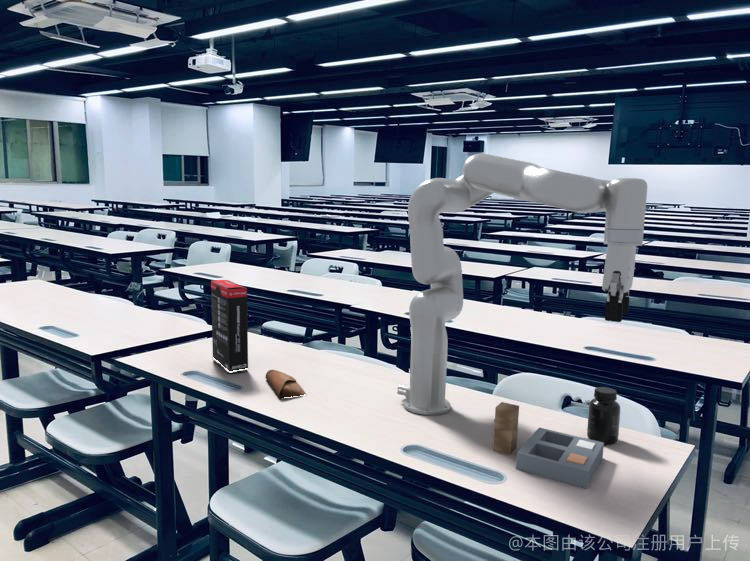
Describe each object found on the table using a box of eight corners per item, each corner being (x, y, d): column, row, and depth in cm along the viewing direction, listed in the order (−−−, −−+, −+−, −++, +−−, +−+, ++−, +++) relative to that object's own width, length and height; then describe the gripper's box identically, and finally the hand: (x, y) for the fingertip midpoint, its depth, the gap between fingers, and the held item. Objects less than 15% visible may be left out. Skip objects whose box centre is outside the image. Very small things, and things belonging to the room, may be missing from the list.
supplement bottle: (609, 433, 133) (614, 385, 132) (623, 445, 127) (628, 395, 125) (581, 433, 133) (585, 385, 132) (593, 445, 126) (598, 395, 125)
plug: (492, 450, 122) (495, 407, 121) (499, 444, 126) (501, 401, 124) (510, 455, 120) (513, 411, 119) (516, 448, 124) (519, 405, 122)
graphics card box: (249, 372, 173) (249, 286, 169) (228, 375, 169) (227, 287, 165) (230, 358, 187) (230, 278, 183) (210, 361, 183) (209, 280, 179)
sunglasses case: (309, 396, 153) (297, 377, 151) (288, 411, 151) (275, 392, 149) (292, 377, 169) (281, 359, 167) (272, 390, 167) (261, 373, 165)
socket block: (515, 468, 114) (517, 451, 113) (538, 441, 127) (539, 426, 127) (587, 488, 107) (588, 470, 106) (602, 458, 120) (604, 441, 120)
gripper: (610, 235, 126) (604, 309, 128) (596, 238, 111) (590, 321, 114) (647, 237, 122) (640, 313, 124) (637, 240, 107) (630, 326, 110)
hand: (616, 317), depth 119 cm, fingers open, 9 cm apart
